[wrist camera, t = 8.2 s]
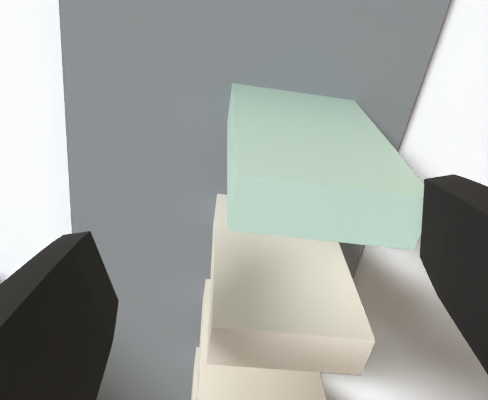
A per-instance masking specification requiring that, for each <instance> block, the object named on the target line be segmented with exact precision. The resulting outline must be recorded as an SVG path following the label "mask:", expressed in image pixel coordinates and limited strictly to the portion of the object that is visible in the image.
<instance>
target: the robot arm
mask: <svg viewBox="0 0 488 400" xmlns="http://www.w3.org/2000/svg"><path fill="white" fill-rule="evenodd" d="M420 258H421V260H422V262H423V265H424V267H425V269H426V272H427V274H428V276H429V278H430V280H431V283H432V285H433V287H434V289H435V291H436V293H437V295H438V297H439V299H440V300H441V302H442V303H443V305H444V307H445V308H446V310H447V311H448V313H449V315H450V316H451V318H452V319H453V321H454V323H455V324H456V326H457V327H458V329H459V330H460V332H461V333H462V335H463V337H464V338H465V340H466V341H467V343H468V344H469V346H470V347H471V349H472V351H473V352H474V354H475V355H476V357H477V358H478V360H479V361H480V363H481V365H482V366H483V368H484V369H485V371H486V372H487V374H488V187H487V186H485V185H482V184H480V183H477V182H475V181H472V180H469V179H466V178H464V177H460V176H457V175H448V176H441V177H435V178H429V179H424V196H423V213H422V230H421V247H420ZM118 303H119V300H118V298H117V295H116V293H115V290H114V288H113V285H112V283H111V281H110V278H109V276H108V273H107V271H106V268H105V266H104V263H103V261H102V258H101V256H100V253H99V251H98V248H97V246H96V243H95V241H94V239H93V236H92V234H91V231H87V232H80V233H74V234H67V235H63V236H61V237H60V238H58V239H57V240H55V241H54V242H52V243H51V244H50V245H48V246H47V247H46V248H44V249H43V250H42V251H41V252H39V253H38V254H37V255H36V256H34V257H33V258H32V259H31V260H29V261H28V262H27V263H26V264H25V265H23V266H22V267H21V268H20V269H18V270H17V271H16V272H15V273H14V274H12V275H11V276H10V277H9V278H8V279H6V280H5V281H4V282H3V283H1V284H0V400H96V399H97V396H98V392H99V389H100V385H101V382H102V379H103V375H104V372H105V368H106V365H107V361H108V358H109V354H110V351H111V347H112V343H113V338H114V332H115V326H116V318H117V311H118Z"/></svg>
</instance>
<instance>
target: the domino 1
mask: <svg viewBox="0 0 488 400" xmlns="http://www.w3.org/2000/svg"><path fill="white" fill-rule="evenodd" d="M423 196H424V183H423V182H422V180H421V179H420V178H419V177H418V176H417V174H416V173H415V172H414V171H413V170H412V168H411V167H410V166H409V165H408V164H407V163H406V161H405V160H404V159H403V158H402V157H401V155H400V154H399V153H398V152H397V151H396V149H395V148H394V147H393V146H392V145H391V143H390V142H389V141H388V140H387V139H386V137H385V136H384V135H383V134H382V133H381V131H380V130H379V129H378V128H377V127H376V126H375V124H374V123H373V122H372V121H371V120H370V118H369V117H368V116H367V115H366V114H365V112H364V111H363V110H362V109H361V108H360V106H359V105H358V104H357V103H356V102H355V100H348V99H341V98H334V97H327V96H320V95H313V94H306V93H299V92H292V91H285V90H278V89H271V88H264V87H257V86H250V85H243V84H236V83H232V90H231V97H230V104H229V111H228V119H227V230H229V231H239V232H248V233H257V234H267V235H276V236H286V237H295V238H304V239H314V240H323V241H333V242H342V243H351V244H361V245H370V246H380V247H389V248H398V249H408V250H415V247H416V245H417V243H418V240H419V238H420V236H421V230H422V213H423Z"/></svg>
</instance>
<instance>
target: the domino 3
mask: <svg viewBox="0 0 488 400" xmlns="http://www.w3.org/2000/svg"><path fill="white" fill-rule="evenodd" d="M209 298H210V279H206V280H205V288H204V295H203V302H202V317H201V331H200V346H199V360H198V375H197V389H196V400H326V396H325V391H324V387H323V382H322V378H321V373H320V372H306V371H292V370H278V369H265V368H251V367H237V366H223V365H209V364H206V358H207V338H208V318H209Z"/></svg>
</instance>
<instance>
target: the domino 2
mask: <svg viewBox="0 0 488 400" xmlns="http://www.w3.org/2000/svg"><path fill="white" fill-rule="evenodd" d="M375 341H376V340H375V337H374V335H373V332H372V329H371V327H370V324H369V321H368V319H367V316H366V313H365V311H364V308H363V306H362V303H361V300H360V298H359V295H358V292H357V290H356V287H355V284H354V282H353V279H352V277H351V274H350V271H349V269H348V266H347V263H346V261H345V258H344V255H343V253H342V250H341V248H340V245H339V242H333V241H323V240H314V239H304V238H295V237H286V236H276V235H267V234H257V233H248V232H239V231H229V230H227V195H224V194H217V199H216V206H215V214H214V221H213V238H212V258H211V278H210V298H209V318H208V338H207V358H206V364H209V365H223V366H237V367H251V368H265V369H278V370H292V371H306V372H320V373H334V374H348V375H362V372H363V370H364V367H365V365H366V363H367V360H368V358H369V356H370V353H371V351H372V349H373V346H374V344H375Z"/></svg>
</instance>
